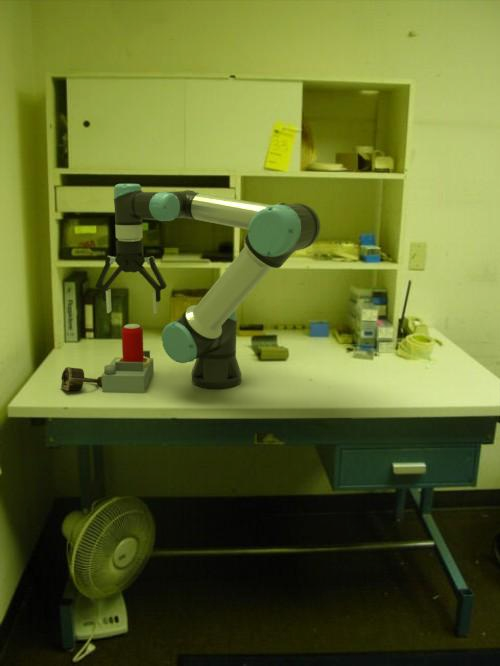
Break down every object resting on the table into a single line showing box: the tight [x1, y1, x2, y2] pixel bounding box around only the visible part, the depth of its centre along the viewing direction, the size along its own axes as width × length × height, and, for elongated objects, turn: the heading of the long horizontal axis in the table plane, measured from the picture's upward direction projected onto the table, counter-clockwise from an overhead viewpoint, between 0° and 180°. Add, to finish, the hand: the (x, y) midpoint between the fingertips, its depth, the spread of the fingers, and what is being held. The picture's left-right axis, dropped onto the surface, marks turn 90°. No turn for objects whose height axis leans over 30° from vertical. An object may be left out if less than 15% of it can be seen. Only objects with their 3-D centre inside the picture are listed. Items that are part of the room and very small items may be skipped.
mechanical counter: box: [60, 366, 102, 392], centre depth 178 cm, size 7×13×10 cm
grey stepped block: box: [101, 349, 155, 394], centre depth 183 cm, size 12×17×8 cm
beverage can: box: [121, 323, 144, 362], centre depth 183 cm, size 6×6×12 cm
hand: (132, 312), depth 180 cm, fingers open, 13 cm apart
